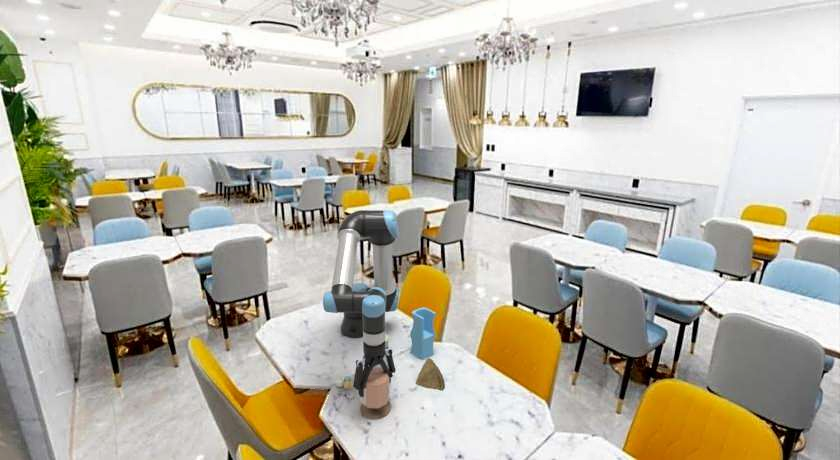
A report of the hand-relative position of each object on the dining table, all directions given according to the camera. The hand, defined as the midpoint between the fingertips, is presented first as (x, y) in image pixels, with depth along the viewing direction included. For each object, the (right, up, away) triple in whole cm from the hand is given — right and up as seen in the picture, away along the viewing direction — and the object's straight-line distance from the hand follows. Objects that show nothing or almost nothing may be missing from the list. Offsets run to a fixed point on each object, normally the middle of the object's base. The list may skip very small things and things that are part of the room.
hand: (375, 397), depth 140 cm
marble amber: (-12, -2, +12) cm, 17 cm away
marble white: (-15, -1, +13) cm, 20 cm away
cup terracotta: (0, -1, 0) cm, 1 cm away
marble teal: (-13, -1, +15) cm, 20 cm away
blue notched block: (+17, +4, +36) cm, 40 cm away
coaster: (0, -5, +1) cm, 5 cm away
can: (-2, +3, +29) cm, 29 cm away
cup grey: (-1, -1, +16) cm, 16 cm away
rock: (+20, -2, +14) cm, 25 cm away
